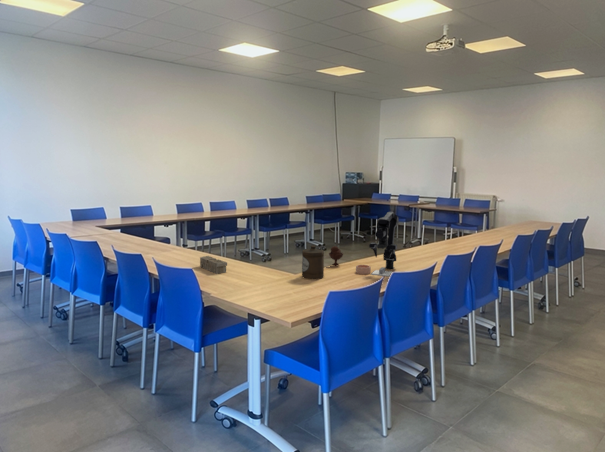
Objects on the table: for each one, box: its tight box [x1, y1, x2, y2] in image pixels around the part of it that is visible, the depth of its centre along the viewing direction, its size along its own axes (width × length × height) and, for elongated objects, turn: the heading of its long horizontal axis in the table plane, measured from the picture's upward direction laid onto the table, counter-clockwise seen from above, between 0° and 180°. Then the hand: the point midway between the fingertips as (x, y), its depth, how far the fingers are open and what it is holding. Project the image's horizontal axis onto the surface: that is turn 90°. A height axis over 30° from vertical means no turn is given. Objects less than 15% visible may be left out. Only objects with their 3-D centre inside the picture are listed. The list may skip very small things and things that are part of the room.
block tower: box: [199, 255, 228, 275], centre depth 310 cm, size 8×8×29 cm
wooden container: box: [301, 244, 325, 280], centre depth 293 cm, size 15×15×22 cm
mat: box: [369, 270, 391, 278], centre depth 306 cm, size 14×14×1 cm
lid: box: [371, 266, 393, 277], centre depth 305 cm, size 12×12×4 cm
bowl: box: [355, 264, 372, 275], centre depth 308 cm, size 10×10×5 cm
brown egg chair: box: [328, 245, 344, 267], centre depth 331 cm, size 11×11×15 cm
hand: (382, 257), depth 303 cm, fingers open, 9 cm apart
